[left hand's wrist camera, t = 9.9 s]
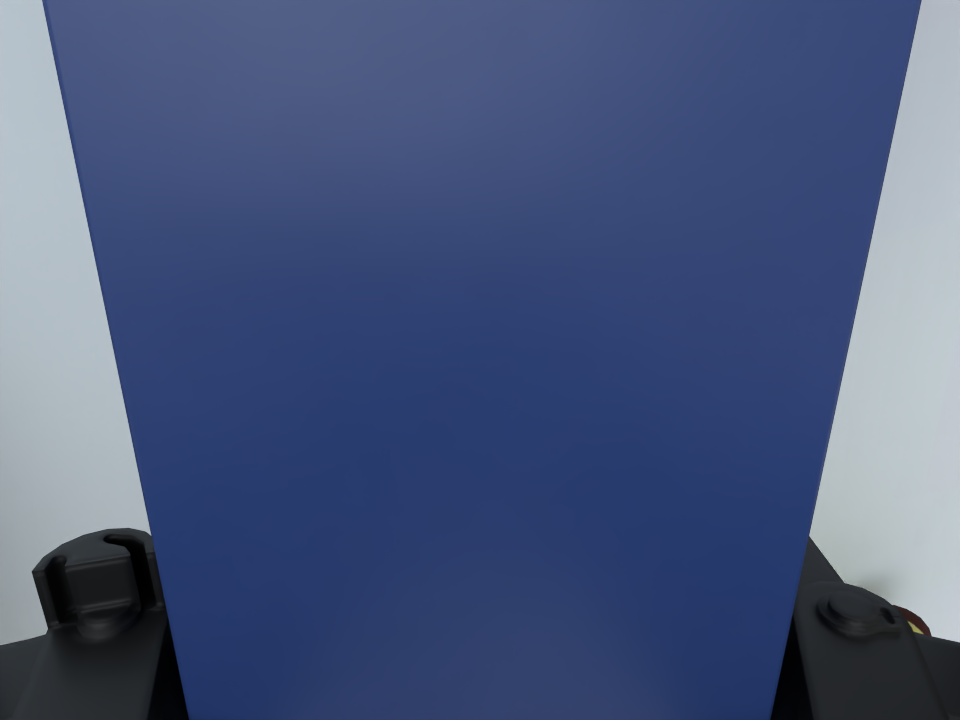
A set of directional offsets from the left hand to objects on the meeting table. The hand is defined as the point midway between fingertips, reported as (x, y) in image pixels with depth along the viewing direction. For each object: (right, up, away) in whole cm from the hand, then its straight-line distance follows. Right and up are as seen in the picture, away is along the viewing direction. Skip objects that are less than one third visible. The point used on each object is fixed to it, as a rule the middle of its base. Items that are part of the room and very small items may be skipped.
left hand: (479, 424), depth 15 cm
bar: (0, +9, -3) cm, 10 cm away
